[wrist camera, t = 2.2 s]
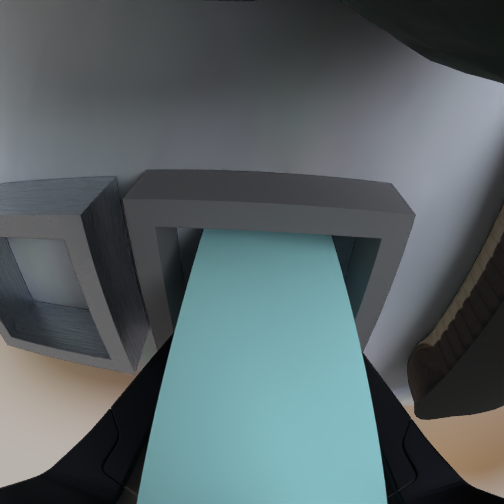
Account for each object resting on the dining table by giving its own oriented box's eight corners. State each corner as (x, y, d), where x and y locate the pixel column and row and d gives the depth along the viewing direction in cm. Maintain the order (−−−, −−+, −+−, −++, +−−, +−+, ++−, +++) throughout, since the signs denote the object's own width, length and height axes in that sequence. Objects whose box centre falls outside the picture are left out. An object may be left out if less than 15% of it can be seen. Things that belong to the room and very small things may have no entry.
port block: (116, 176, 10) (80, 215, 7) (149, 328, 14) (134, 374, 12) (-22, 186, 10) (-59, 216, 8) (28, 309, 14) (7, 344, 12)
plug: (329, 227, 10) (390, 536, 3) (311, 313, 13) (329, 546, 5) (206, 221, 10) (131, 533, 3) (211, 308, 13) (176, 542, 5)
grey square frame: (391, 183, 9) (415, 214, 8) (343, 341, 14) (350, 378, 12) (146, 169, 9) (122, 199, 8) (173, 333, 14) (164, 370, 12)
